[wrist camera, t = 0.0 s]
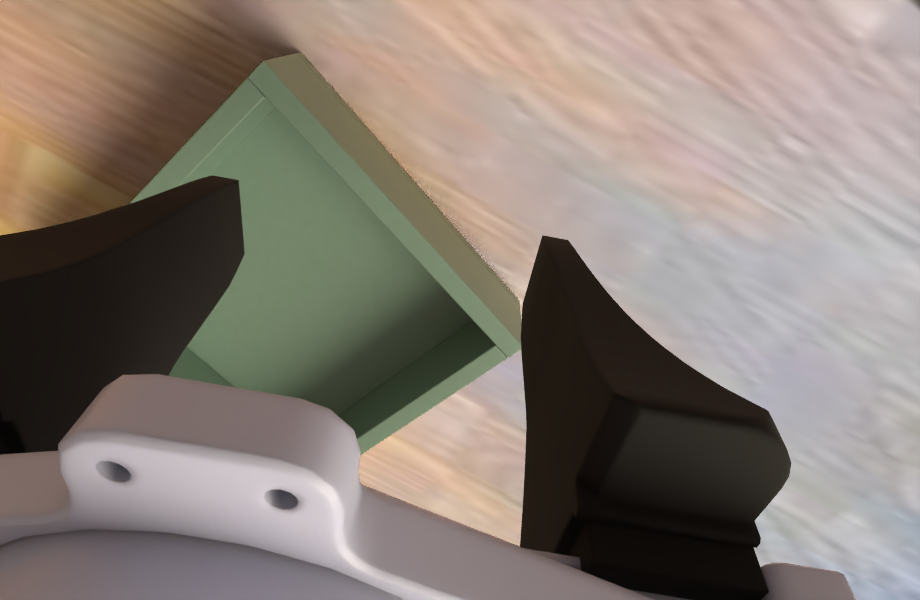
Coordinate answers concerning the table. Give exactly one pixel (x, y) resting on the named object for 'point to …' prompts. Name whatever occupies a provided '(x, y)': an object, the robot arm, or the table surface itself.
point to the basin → (336, 263)
